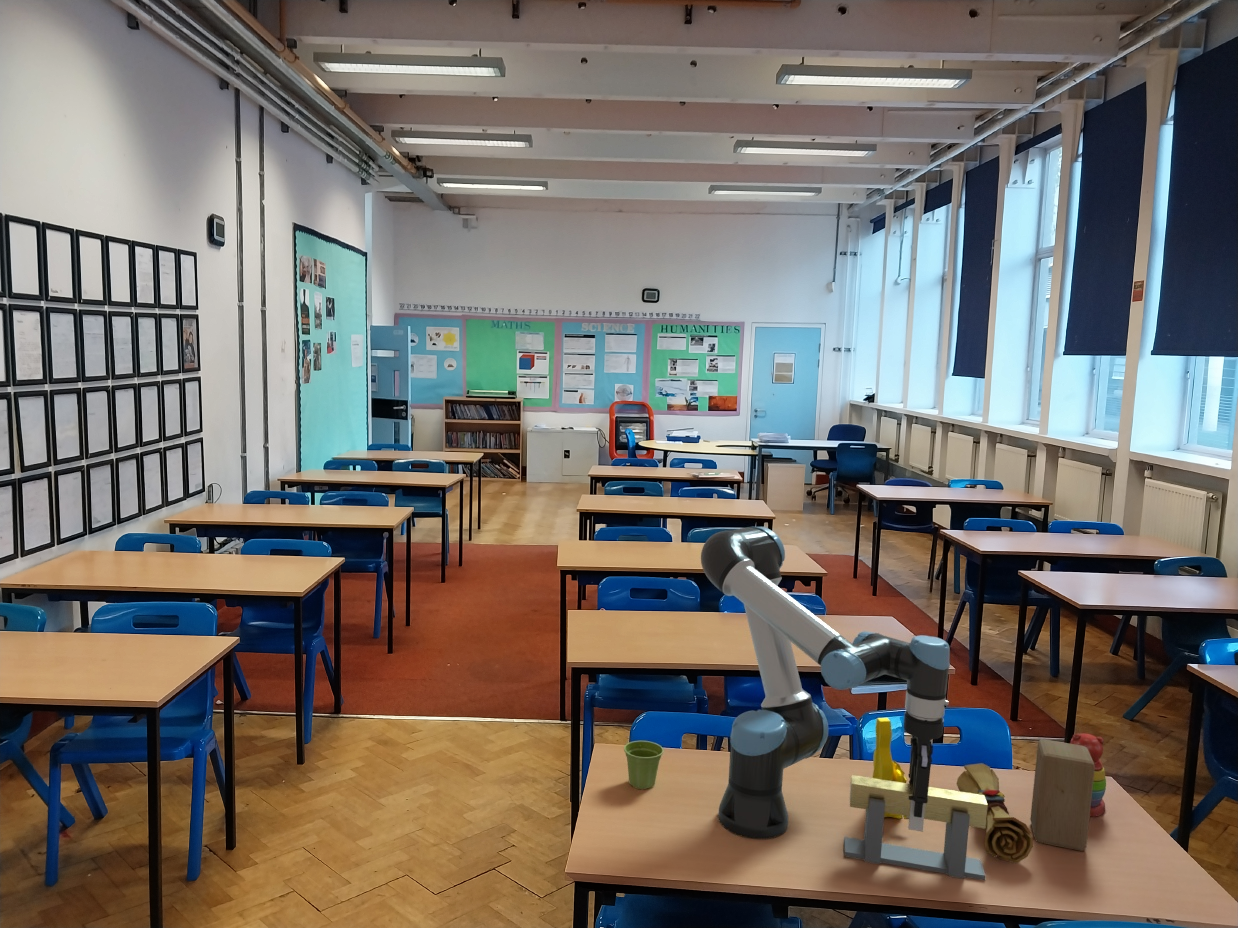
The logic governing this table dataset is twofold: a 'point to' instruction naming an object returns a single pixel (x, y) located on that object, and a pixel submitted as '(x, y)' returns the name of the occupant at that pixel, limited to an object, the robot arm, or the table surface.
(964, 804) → the rail
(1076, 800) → the wooden block
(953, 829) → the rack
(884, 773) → the figure statuette
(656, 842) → the table surface
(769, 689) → the robot arm
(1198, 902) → the table surface
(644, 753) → the plant pot
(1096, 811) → the stacking bear
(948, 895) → the table surface
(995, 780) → the scroll
